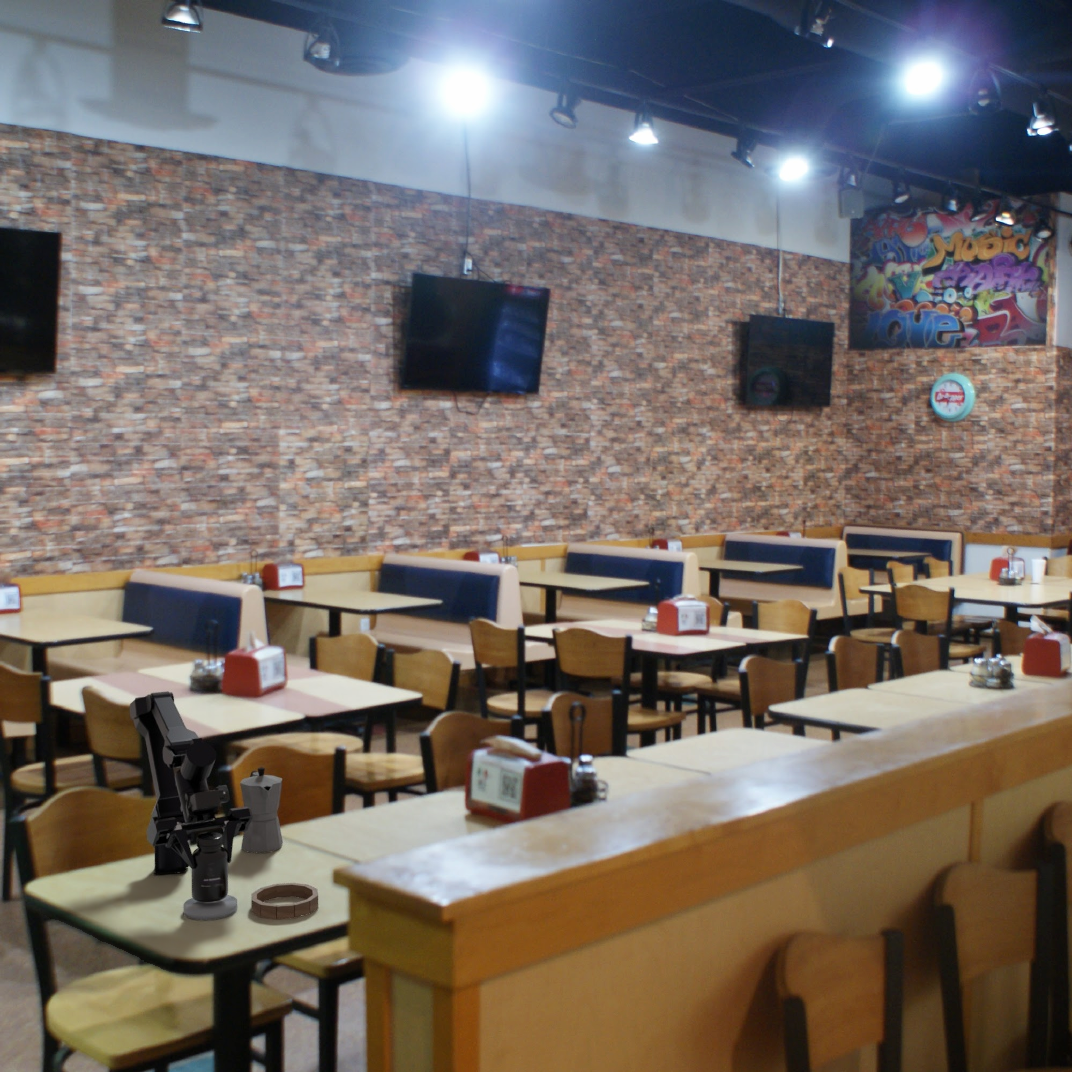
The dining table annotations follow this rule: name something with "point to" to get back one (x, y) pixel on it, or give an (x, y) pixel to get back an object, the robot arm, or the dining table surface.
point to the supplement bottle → (210, 868)
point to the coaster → (210, 908)
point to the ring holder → (284, 909)
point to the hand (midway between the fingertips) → (211, 865)
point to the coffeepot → (262, 812)
